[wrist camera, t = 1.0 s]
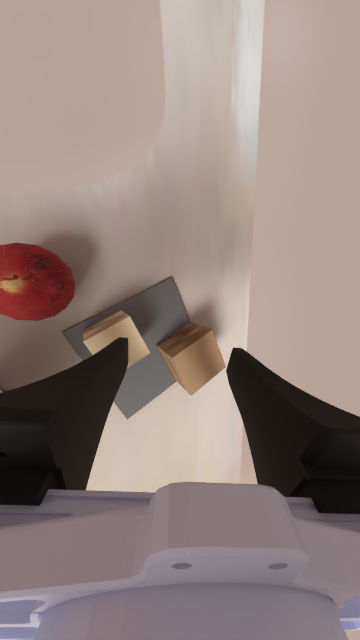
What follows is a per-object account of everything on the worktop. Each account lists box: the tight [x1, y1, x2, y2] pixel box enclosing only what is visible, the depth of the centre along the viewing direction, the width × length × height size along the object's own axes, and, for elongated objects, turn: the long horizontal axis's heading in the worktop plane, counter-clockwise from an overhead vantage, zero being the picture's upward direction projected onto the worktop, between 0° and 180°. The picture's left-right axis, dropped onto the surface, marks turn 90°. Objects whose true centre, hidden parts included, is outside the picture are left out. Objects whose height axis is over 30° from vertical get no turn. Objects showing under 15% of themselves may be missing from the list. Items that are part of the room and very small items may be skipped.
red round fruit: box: [0, 243, 75, 321], centre depth 13 cm, size 6×6×8 cm
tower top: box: [164, 326, 226, 395], centre depth 22 cm, size 6×6×2 cm
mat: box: [62, 277, 190, 419], centre depth 23 cm, size 14×14×1 cm
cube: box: [83, 311, 150, 368], centre depth 19 cm, size 4×4×4 cm
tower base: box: [156, 322, 200, 385], centre depth 24 cm, size 6×6×2 cm
